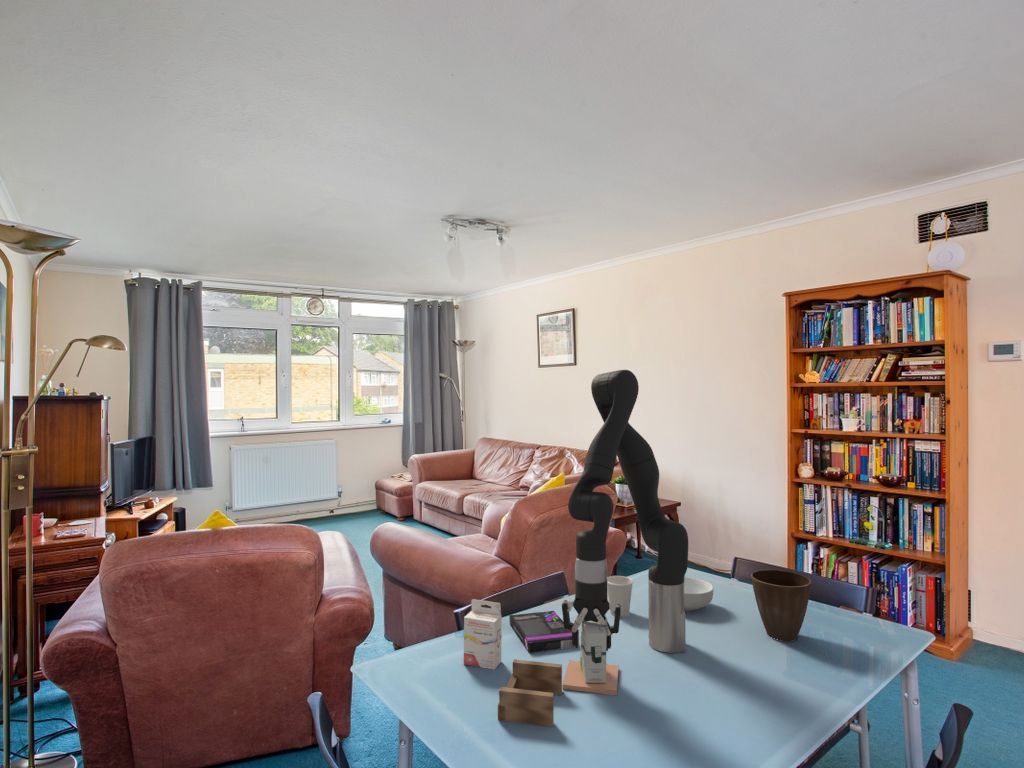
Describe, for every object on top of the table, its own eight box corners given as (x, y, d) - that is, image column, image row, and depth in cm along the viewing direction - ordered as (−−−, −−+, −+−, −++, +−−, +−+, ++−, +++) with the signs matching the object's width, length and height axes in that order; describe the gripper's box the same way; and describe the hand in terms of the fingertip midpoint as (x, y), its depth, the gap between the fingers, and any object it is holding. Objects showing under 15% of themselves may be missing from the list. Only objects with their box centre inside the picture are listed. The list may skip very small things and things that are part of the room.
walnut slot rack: (561, 691, 127) (561, 664, 127) (552, 727, 113) (552, 696, 113) (512, 685, 129) (512, 659, 130) (497, 720, 116) (497, 690, 116)
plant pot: (752, 642, 152) (751, 582, 152) (751, 621, 165) (750, 566, 166) (814, 651, 146) (814, 589, 146) (808, 629, 160) (807, 572, 160)
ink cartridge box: (462, 665, 139) (462, 605, 140) (470, 656, 144) (470, 598, 144) (495, 670, 137) (495, 609, 137) (502, 661, 141) (502, 602, 142)
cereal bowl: (721, 617, 169) (721, 593, 169) (665, 617, 169) (665, 593, 169) (703, 596, 186) (703, 575, 186) (652, 596, 186) (652, 575, 186)
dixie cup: (612, 605, 178) (612, 573, 178) (637, 611, 173) (637, 578, 173) (600, 614, 171) (600, 581, 172) (626, 620, 166) (626, 586, 167)
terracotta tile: (618, 669, 137) (618, 665, 137) (616, 695, 125) (616, 690, 125) (569, 664, 140) (569, 660, 140) (562, 689, 128) (562, 684, 128)
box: (578, 650, 149) (554, 620, 168) (578, 637, 149) (554, 608, 168) (527, 656, 146) (508, 624, 165) (528, 642, 146) (509, 612, 165)
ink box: (579, 664, 137) (580, 615, 137) (599, 664, 137) (600, 615, 137) (584, 683, 128) (586, 631, 128) (606, 683, 128) (607, 631, 128)
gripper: (622, 573, 135) (623, 644, 135) (562, 569, 138) (563, 638, 138) (621, 584, 128) (622, 658, 127) (558, 579, 131) (558, 652, 131)
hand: (591, 648), depth 133 cm, fingers open, 6 cm apart
